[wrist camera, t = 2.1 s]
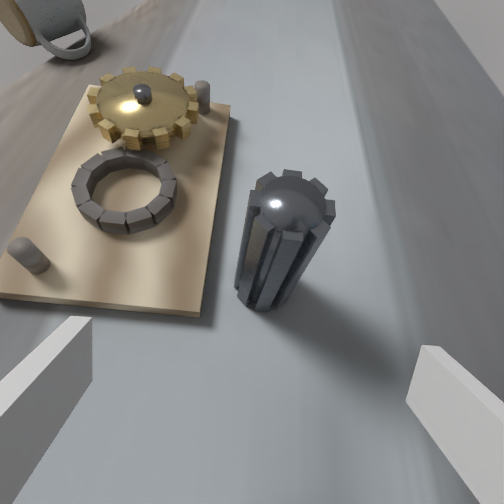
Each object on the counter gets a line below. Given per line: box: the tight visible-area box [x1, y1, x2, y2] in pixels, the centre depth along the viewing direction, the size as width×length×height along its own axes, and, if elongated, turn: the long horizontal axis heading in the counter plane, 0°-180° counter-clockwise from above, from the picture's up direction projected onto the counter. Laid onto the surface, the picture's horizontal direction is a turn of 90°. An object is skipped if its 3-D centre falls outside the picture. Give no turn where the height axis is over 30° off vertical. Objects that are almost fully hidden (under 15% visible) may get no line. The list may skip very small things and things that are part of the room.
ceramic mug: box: [0, 0, 91, 60], centre depth 38 cm, size 11×8×8 cm
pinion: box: [234, 169, 336, 312], centre depth 23 cm, size 5×5×12 cm
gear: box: [86, 66, 199, 151], centre depth 32 cm, size 10×10×5 cm
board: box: [0, 81, 230, 318], centre depth 30 cm, size 16×25×4 cm, turn 176°
